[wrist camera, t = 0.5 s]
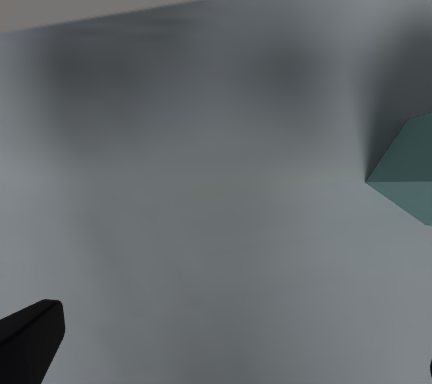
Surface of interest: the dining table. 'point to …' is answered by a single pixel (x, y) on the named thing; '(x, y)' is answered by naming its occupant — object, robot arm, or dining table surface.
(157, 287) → the dining table surface
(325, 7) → the dining table surface
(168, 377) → the dining table surface
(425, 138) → the teal block
